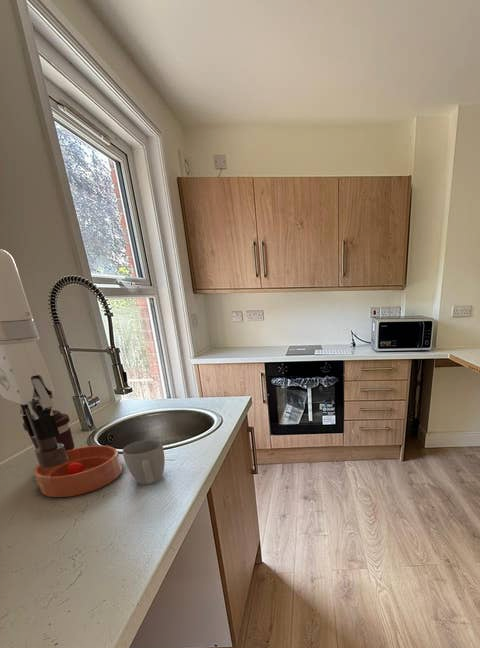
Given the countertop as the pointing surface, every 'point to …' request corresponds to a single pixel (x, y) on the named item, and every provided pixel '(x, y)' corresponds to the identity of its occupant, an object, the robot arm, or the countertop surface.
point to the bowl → (97, 472)
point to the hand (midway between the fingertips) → (44, 435)
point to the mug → (145, 460)
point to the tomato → (75, 468)
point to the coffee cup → (63, 429)
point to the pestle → (48, 448)
